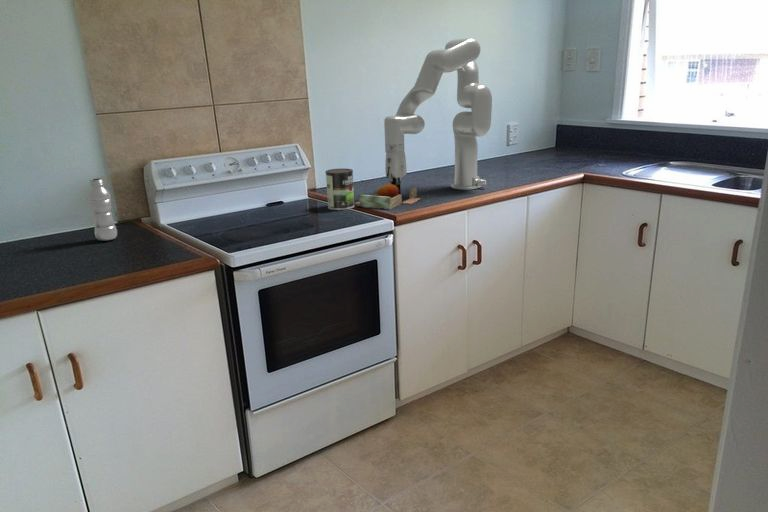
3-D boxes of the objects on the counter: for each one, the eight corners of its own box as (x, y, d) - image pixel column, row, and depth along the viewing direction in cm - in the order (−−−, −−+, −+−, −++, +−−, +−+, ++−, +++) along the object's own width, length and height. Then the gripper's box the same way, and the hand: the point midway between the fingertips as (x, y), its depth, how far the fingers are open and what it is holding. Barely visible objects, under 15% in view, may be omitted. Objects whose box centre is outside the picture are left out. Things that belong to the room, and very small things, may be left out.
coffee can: (359, 205, 226) (358, 169, 222) (344, 211, 218) (342, 173, 214) (338, 203, 232) (336, 167, 227) (322, 208, 223) (319, 171, 219)
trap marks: (420, 199, 233) (420, 198, 232) (403, 208, 219) (403, 207, 219) (374, 195, 242) (374, 194, 242) (354, 204, 229) (354, 203, 229)
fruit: (385, 201, 224) (380, 182, 226) (378, 208, 231) (374, 189, 233) (404, 199, 227) (399, 180, 229) (397, 206, 234) (392, 187, 236)
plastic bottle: (100, 237, 195) (89, 178, 188) (121, 236, 195) (110, 177, 189) (93, 243, 188) (80, 181, 182) (114, 242, 189) (103, 180, 183)
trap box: (416, 196, 239) (416, 185, 237) (390, 209, 218) (389, 197, 217) (388, 193, 244) (388, 183, 243) (359, 206, 224) (359, 195, 223)
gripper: (394, 151, 222) (396, 198, 228) (411, 146, 235) (412, 191, 241) (377, 150, 226) (379, 197, 232) (394, 145, 238) (396, 189, 244)
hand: (396, 194), depth 236 cm, fingers closed
